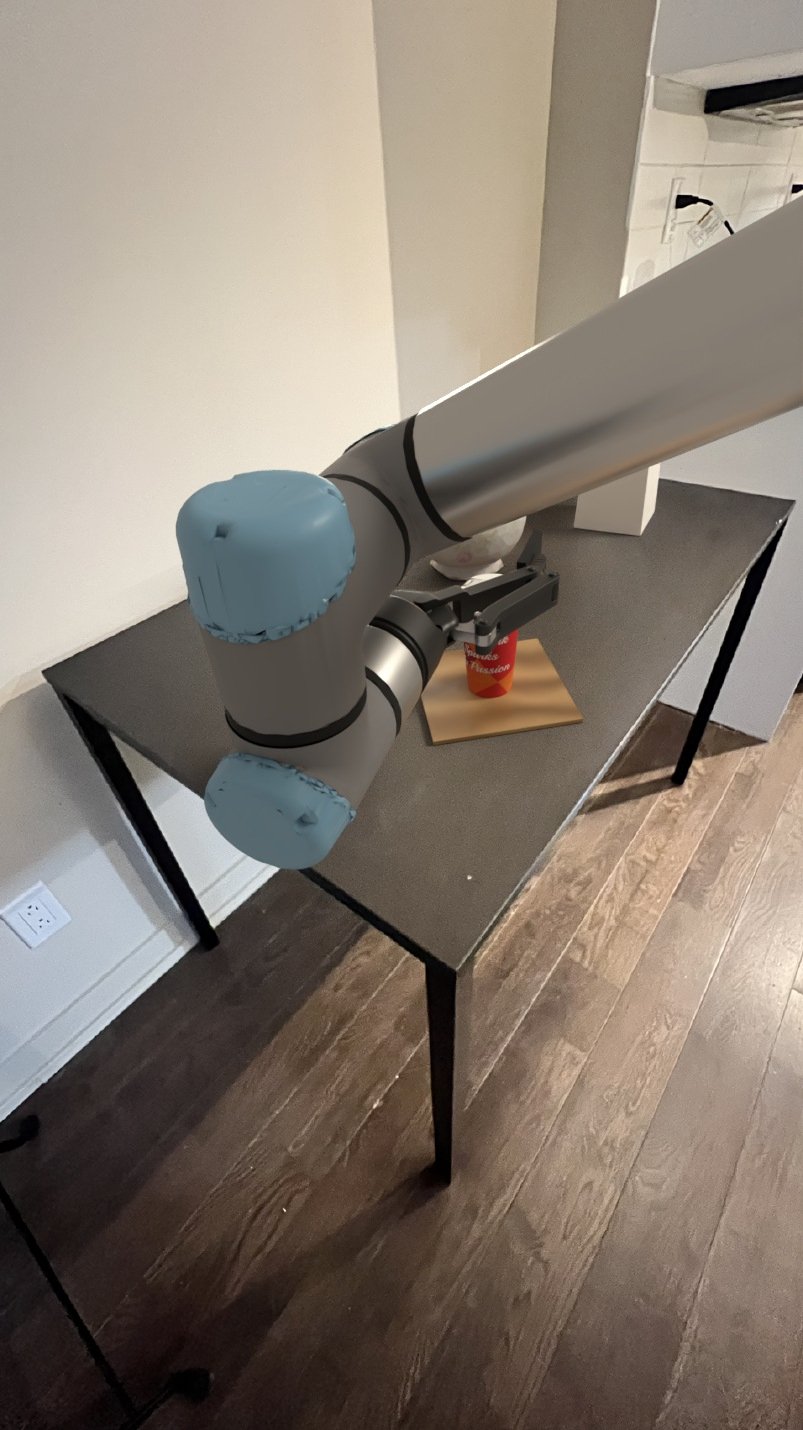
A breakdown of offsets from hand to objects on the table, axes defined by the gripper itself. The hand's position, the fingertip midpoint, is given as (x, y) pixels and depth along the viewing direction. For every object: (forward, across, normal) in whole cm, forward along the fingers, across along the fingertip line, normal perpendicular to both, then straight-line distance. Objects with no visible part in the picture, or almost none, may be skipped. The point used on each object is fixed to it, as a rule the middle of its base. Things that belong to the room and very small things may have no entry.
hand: (464, 538), depth 58 cm
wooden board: (+10, 0, -25) cm, 27 cm away
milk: (+66, +9, -25) cm, 71 cm away
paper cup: (+10, 0, -24) cm, 26 cm away
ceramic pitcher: (+43, -12, -25) cm, 51 cm away
